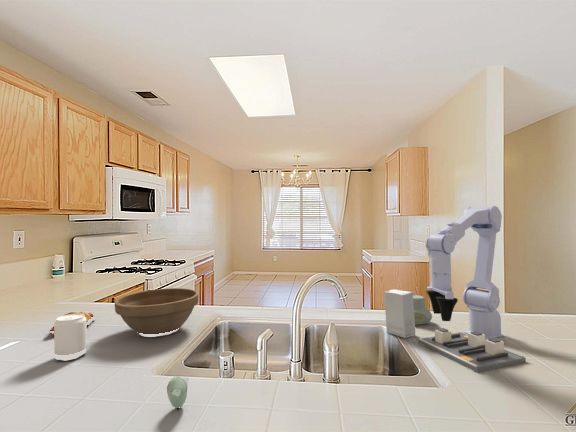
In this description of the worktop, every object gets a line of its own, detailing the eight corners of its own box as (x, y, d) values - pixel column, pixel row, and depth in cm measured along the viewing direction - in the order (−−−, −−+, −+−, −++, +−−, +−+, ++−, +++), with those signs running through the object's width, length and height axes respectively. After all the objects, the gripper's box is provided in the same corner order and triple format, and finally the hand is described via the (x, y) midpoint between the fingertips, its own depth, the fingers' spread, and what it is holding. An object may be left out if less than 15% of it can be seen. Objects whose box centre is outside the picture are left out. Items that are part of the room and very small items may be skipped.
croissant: (89, 328, 137) (81, 311, 137) (108, 317, 136) (100, 300, 136) (44, 347, 116) (35, 326, 116) (67, 334, 115) (58, 313, 115)
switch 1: (443, 339, 106) (443, 327, 106) (451, 342, 103) (451, 330, 103) (435, 340, 105) (435, 328, 105) (442, 344, 102) (442, 331, 102)
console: (460, 335, 113) (460, 329, 113) (525, 361, 92) (525, 354, 92) (417, 342, 107) (417, 336, 107) (476, 372, 86) (476, 364, 86)
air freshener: (401, 324, 126) (400, 298, 126) (402, 318, 134) (402, 293, 134) (432, 327, 122) (431, 300, 122) (431, 321, 129) (431, 295, 130)
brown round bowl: (95, 341, 112) (95, 302, 113) (153, 317, 139) (153, 285, 140) (164, 350, 104) (164, 308, 104) (213, 322, 131) (212, 289, 131)
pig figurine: (181, 419, 68) (181, 386, 68) (161, 420, 67) (161, 386, 68) (191, 398, 76) (191, 368, 76) (173, 398, 75) (173, 369, 75)
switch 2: (494, 350, 97) (494, 337, 97) (503, 354, 94) (503, 340, 94) (485, 352, 96) (485, 338, 96) (494, 356, 93) (494, 342, 93)
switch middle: (476, 343, 103) (476, 330, 103) (485, 346, 100) (484, 333, 100) (467, 344, 102) (467, 331, 102) (476, 348, 99) (476, 335, 99)
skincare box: (415, 335, 114) (415, 292, 114) (404, 339, 110) (403, 294, 111) (395, 328, 121) (395, 288, 121) (384, 332, 117) (383, 290, 118)
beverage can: (92, 354, 101) (92, 314, 102) (65, 364, 94) (65, 322, 94) (75, 349, 105) (75, 312, 105) (48, 359, 98) (48, 319, 98)
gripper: (420, 269, 110) (421, 310, 110) (435, 277, 96) (436, 324, 95) (442, 269, 109) (443, 310, 109) (460, 277, 95) (461, 324, 95)
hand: (441, 316), depth 102 cm, fingers open, 7 cm apart
